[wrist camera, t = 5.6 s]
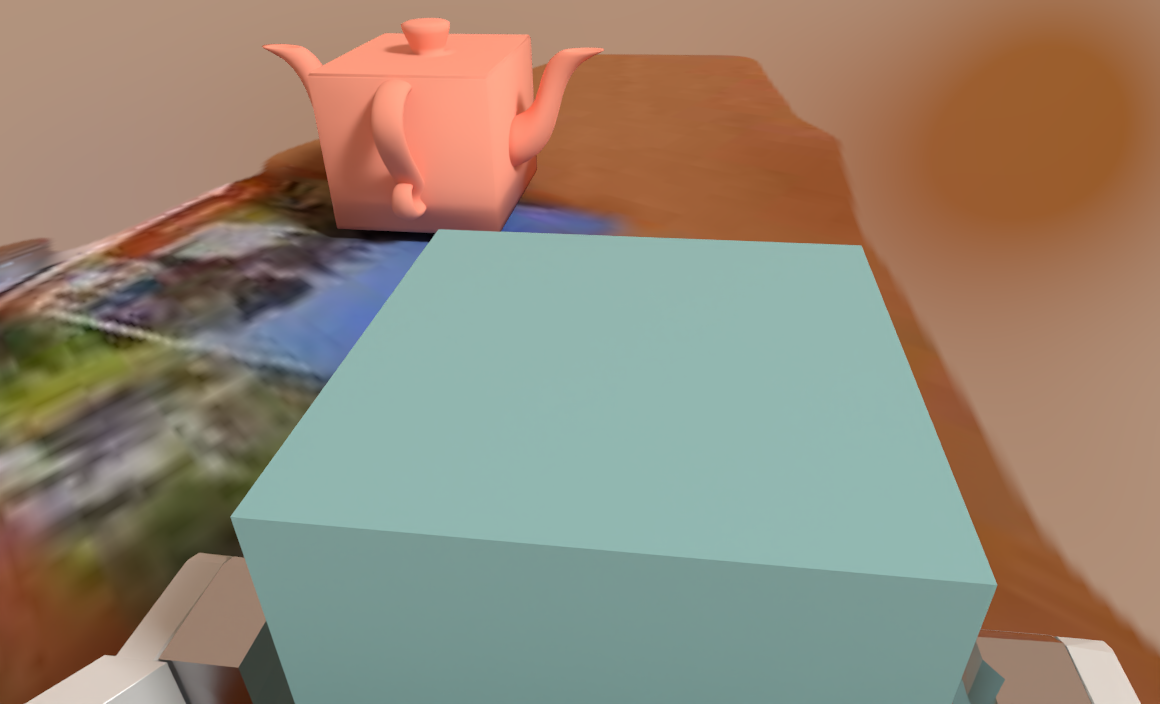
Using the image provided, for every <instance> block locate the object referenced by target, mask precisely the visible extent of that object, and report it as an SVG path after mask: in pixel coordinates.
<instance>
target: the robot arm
mask: <svg viewBox="0 0 1160 704" xmlns="http://www.w3.org/2000/svg"><path fill="white" fill-rule="evenodd" d="M25 704H295V702H294V699H293V697H292V694H291V691H290V688H289V685H288V682H287V679H286V676H285V673H284V671H283V668H282V665H281V662H280V659H279V656H278V653H277V650H276V647H275V645H274V642H273V639H272V636H271V633H270V630H269V627H268V624H267V621H266V619H265V616H264V613H263V610H262V607H261V604H260V601H259V598H258V595H257V593H256V590H255V587H254V584H253V581H252V578H251V575H250V572H249V569H248V567H247V564H246V561H245V558H243V557H235V556H234V557H233V556H224V555H215V554H206V553H198V554H196V555H195V556H193V557H192V558H190V559H189V560H187V561H186V562H185V564H184V565H183V566H182V568H181V569H180V570H179V572H178V573H177V574H176V576H175V577H174V578H173V580H172V581H171V582H170V584H169V585H168V586H167V588H166V589H165V590H164V592H163V593H162V594H161V596H160V597H159V598H158V600H157V601H156V602H155V604H154V605H153V606H152V608H151V609H150V611H149V612H148V613H147V615H146V616H145V617H144V619H143V620H142V621H141V623H140V624H139V625H138V627H137V628H136V629H135V631H134V632H133V633H132V635H131V636H130V637H129V639H128V640H127V641H126V643H125V644H124V645H123V647H122V648H121V649H120V651H119V652H118V653H117V655H116V656H112V655H104V656H102V657H101V658H99V659H97V660H96V661H94V662H92V663H91V664H89V665H88V666H86V667H84V668H83V669H81V670H79V671H78V672H76V673H74V674H73V675H71V676H70V677H68V678H66V679H65V680H63V681H61V682H60V683H58V684H56V685H55V686H53V687H51V688H50V689H48V690H47V691H45V692H43V693H42V694H40V695H38V696H37V697H35V698H33V699H32V700H30V701H29V702H27V703H25ZM952 704H1141V703H1140V701H1139V699H1138V697H1137V696H1136V694H1135V692H1134V690H1133V688H1132V686H1131V684H1130V682H1129V680H1128V678H1127V676H1126V675H1125V673H1124V671H1123V669H1122V667H1121V665H1120V663H1119V661H1118V659H1117V657H1116V655H1115V653H1114V652H1113V650H1112V649H1111V648H1110V647H1109V646H1108V645H1107V644H1106V643H1105V642H1104V641H1097V640H1087V639H1076V638H1066V637H1052V636H1051V635H1042V634H1030V633H1018V632H1007V631H995V630H983V629H980V631H979V634H978V636H977V639H976V642H975V644H974V647H973V649H972V652H971V655H970V657H969V660H968V662H967V665H966V668H965V670H964V673H963V676H962V678H961V681H960V683H959V686H958V689H957V691H956V694H955V696H954V699H953V702H952Z"/></svg>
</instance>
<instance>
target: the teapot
mask: <svg viewBox="0 0 1160 704" xmlns="http://www.w3.org/2000/svg"><path fill="white" fill-rule="evenodd" d="M401 27H402V30H403V33H404V34H397V33H393V34H392V33H385V34H383V35H380V36H378V37H376V38H375V39H373V40H371V41H369V42H367V43H365V44H363V45H361V46H359V47H357V48H355V49H353V50H351V51H350V52H348V53H346V54H344V55H342V56H340V57H338V58H336V59H334V60H332V61H330V62H329V63H327V64H325V65H322V64H321V62H320V61H319V60H318V59H317V57H316V56H315V55H314V54H312V53H311V52H310V51H309V50H307V49H306V48H304V47H301V46H298V45H289V44H268V45H263V46H262V47H263V48H264V49H266V50H268V51H270V52H272V53H274V54H275V55H277V56H279V57H280V58H282V59H284V60H285V61H286V62H287V63H288V64H289V65H290V66H291V67H292V68H293V69H294V70H295V72H296V73H297V75H298V76H299V77H300V79H301V81H302V82H303V85H304V86H305V88H306V90H307V93H308V95H309V98H310V100H311V103H312V106H313V108H314V113H315V118H316V124H317V129H318V133H319V139H320V144H321V149H322V154H323V159H324V164H325V169H326V174H327V179H328V185H329V190H330V195H331V200H332V205H333V210H334V215H335V220H336V225H337V229H355V230H377V231H400V232H421V233H436V232H437V231H438V229H445V230H470V231H496V232H501V230H502V229H503V227H504V225H505V224H506V222H507V220H508V218H509V217H510V215H511V213H512V212H513V210H514V208H515V207H516V205H517V203H518V201H519V200H520V198H521V196H522V195H523V193H524V191H525V189H526V188H527V186H528V184H529V183H530V181H531V179H532V177H533V176H534V174H535V172H536V170H537V156H536V155H537V154H538V153H539V152H540V151H541V150H542V149H543V147H544V146H545V145H546V143H547V142H548V140H549V138H550V136H551V134H552V132H553V129H554V126H555V123H556V120H557V116H558V112H559V108H560V104H561V100H562V96H563V93H564V90H565V87H566V84H567V82H568V80H569V79H570V77H571V75H572V73H573V72H574V71H575V70H576V68H577V67H578V66H579V65H580V64H581V63H582V62H584V61H586V60H587V59H589V58H591V57H592V56H594V55H596V54H598V53H600V52H602V51H603V50H604V49H602V48H571V49H565V50H562V51H560V52H558V53H557V54H555V56H553V57H552V58H551V59H550V61H549V62H548V64H547V66H546V68H545V70H544V73H543V76H542V79H541V82H540V86H539V89H538V92H537V96H536V98H535V100H534V94H533V74H532V54H531V37H530V36H529V35H508V34H504V35H503V34H448V33H449V27H450V22H449V21H447V20H444V19H440V18H420V19H413V20H408V21H406V22H404V23H402V24H401Z"/></svg>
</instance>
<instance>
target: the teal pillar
mask: <svg viewBox="0 0 1160 704" xmlns="http://www.w3.org/2000/svg"><path fill="white" fill-rule="evenodd" d="M231 520H232V523H233V526H234V529H235V532H236V535H237V538H238V541H239V543H240V546H241V549H242V552H243V555H244V558H245V561H246V564H247V567H248V569H249V572H250V575H251V578H252V581H253V584H254V587H255V590H256V593H257V595H258V598H259V601H260V604H261V607H262V610H263V613H264V616H265V619H266V621H267V624H268V627H269V630H270V633H271V636H272V639H273V642H274V645H275V647H276V650H277V653H278V656H279V659H280V662H281V665H282V668H283V671H284V673H285V676H286V679H287V682H288V685H289V688H290V691H291V694H292V697H293V699H294V702H295V704H952V702H953V699H954V696H955V694H956V691H957V689H958V686H959V683H960V681H961V678H962V676H963V673H964V670H965V668H966V665H967V662H968V660H969V657H970V655H971V652H972V649H973V647H974V644H975V642H976V639H977V636H978V634H979V631H980V629H981V626H982V623H983V621H984V618H985V616H986V613H987V610H988V608H989V605H990V603H991V600H992V597H993V595H994V592H995V590H996V587H997V583H996V581H995V578H994V576H993V573H992V571H991V568H990V566H989V563H988V561H987V558H986V556H985V553H984V551H983V548H982V546H981V543H980V541H979V538H978V536H977V533H976V531H975V528H974V526H973V523H972V521H971V518H970V516H969V513H968V511H967V508H966V506H965V503H964V501H963V498H962V496H961V493H960V491H959V488H958V486H957V483H956V481H955V478H954V476H953V473H952V471H951V468H950V466H949V463H948V461H947V458H946V456H945V453H944V451H943V448H942V446H941V443H940V441H939V438H938V436H937V433H936V431H935V428H934V426H933V423H932V421H931V418H930V416H929V413H928V411H927V408H926V406H925V404H924V401H923V399H922V396H921V394H920V391H919V389H918V386H917V384H916V381H915V379H914V376H913V374H912V371H911V369H910V366H909V364H908V361H907V359H906V356H905V354H904V351H903V349H902V346H901V344H900V341H899V339H898V336H897V334H896V331H895V329H894V326H893V324H892V321H891V319H890V316H889V314H888V311H887V309H886V306H885V304H884V301H883V299H882V296H881V294H880V291H879V289H878V286H877V284H876V281H875V279H874V276H873V274H872V271H871V269H870V266H869V264H868V261H867V259H866V256H865V254H864V251H863V249H862V246H858V245H832V244H806V243H781V242H755V241H729V240H703V239H677V238H651V237H626V236H600V235H574V234H548V233H522V232H496V231H470V230H445V229H438V231H437V232H436V233H435V235H434V236H433V238H432V239H431V240H430V242H429V243H428V244H427V246H426V247H425V249H424V250H423V251H422V253H421V254H420V256H419V257H418V258H417V260H416V261H415V262H414V264H413V265H412V267H411V268H410V269H409V271H408V272H407V273H406V275H405V276H404V278H403V279H402V280H401V282H400V283H399V285H398V286H397V287H396V289H395V290H394V291H393V293H392V294H391V296H390V297H389V298H388V300H387V301H386V303H385V304H384V305H383V307H382V308H381V309H380V311H379V312H378V314H377V315H376V316H375V318H374V319H373V320H372V322H371V323H370V325H369V326H368V327H367V329H366V330H365V332H364V333H363V334H362V336H361V337H360V338H359V340H358V341H357V343H356V344H355V345H354V347H353V348H352V350H351V351H350V352H349V354H348V355H347V356H346V358H345V359H344V361H343V362H342V363H341V365H340V366H339V367H338V369H337V370H336V372H335V373H334V374H333V376H332V377H331V379H330V380H329V381H328V383H327V384H326V385H325V387H324V388H323V390H322V391H321V392H320V394H319V395H318V397H317V398H316V399H315V401H314V402H313V403H312V405H311V406H310V408H309V409H308V410H307V412H306V413H305V414H304V416H303V417H302V419H301V420H300V421H299V423H298V424H297V426H296V427H295V428H294V430H293V431H292V432H291V434H290V435H289V437H288V438H287V439H286V441H285V442H284V444H283V445H282V446H281V448H280V449H279V450H278V452H277V453H276V455H275V456H274V457H273V459H272V460H271V461H270V463H269V464H268V466H267V467H266V468H265V470H264V471H263V473H262V474H261V475H260V477H259V478H258V479H257V481H256V482H255V484H254V485H253V486H252V488H251V489H250V491H249V492H248V493H247V495H246V496H245V497H244V499H243V500H242V502H241V503H240V504H239V506H238V507H237V508H236V510H235V511H234V513H233V514H232V515H231Z"/></svg>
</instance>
